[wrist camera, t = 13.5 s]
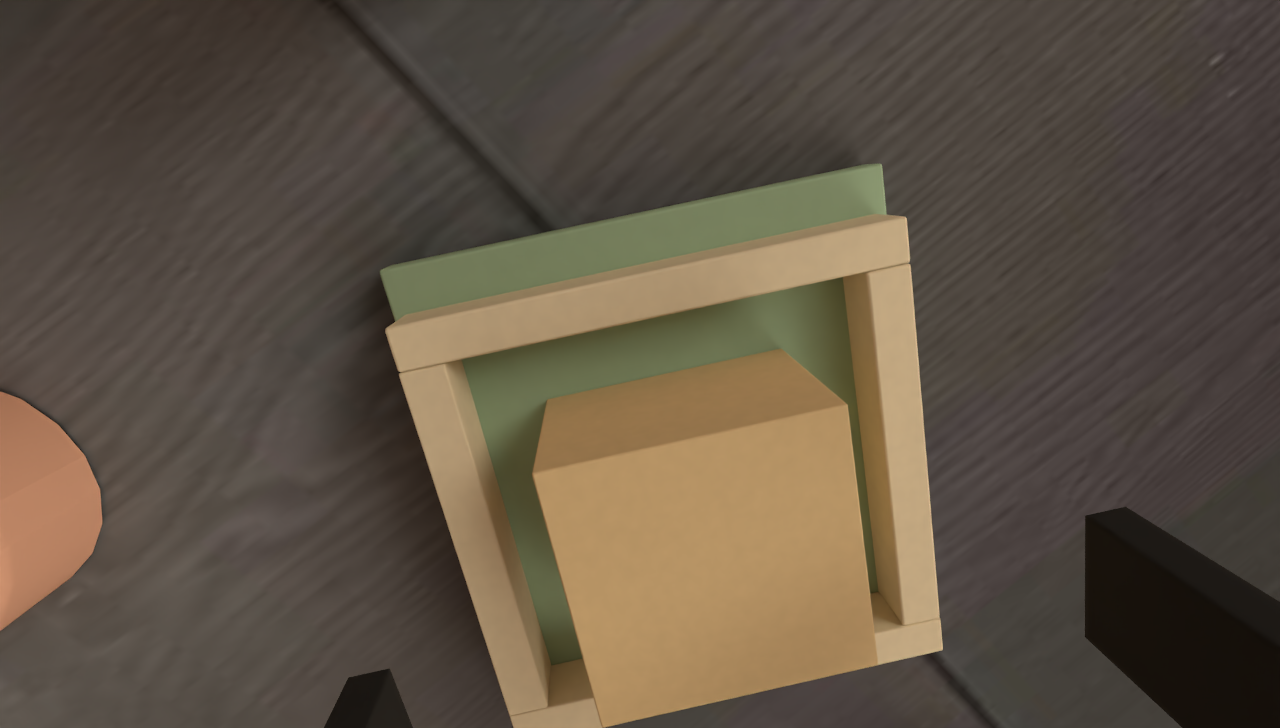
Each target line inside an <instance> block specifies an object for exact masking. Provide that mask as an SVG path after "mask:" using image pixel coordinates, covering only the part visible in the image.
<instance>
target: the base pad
mask: <svg viewBox="0 0 1280 728" xmlns="http://www.w3.org/2000/svg"><path fill="white" fill-rule="evenodd" d="M909 261H910V253H909V240H908V228H907V219H906V217H903V216H892V215H886V204H885V193H884V182H883V171H882V165H881V164H866V165H860V166H855V167H850V168H846V169H841V170H836V171H831V172H827V173H822V174H817V175H813V176H808V177H803V178H799V179H794V180H789V181H784V182H780V183H775V184H770V185H766V186H761V187H756V188H752V189H747V190H742V191H738V192H733V193H728V194H723V195H719V196H714V197H709V198H705V199H700V200H695V201H691V202H686V203H681V204H677V205H672V206H667V207H662V208H658V209H653V210H648V211H644V212H639V213H634V214H630V215H625V216H620V217H616V218H611V219H606V220H601V221H597V222H592V223H587V224H583V225H578V226H573V227H569V228H564V229H559V230H555V231H550V232H545V233H540V234H536V235H531V236H526V237H522V238H517V239H512V240H508V241H503V242H498V243H494V244H489V245H484V246H479V247H475V248H470V249H465V250H461V251H456V252H451V253H447V254H442V255H437V256H433V257H428V258H423V259H418V260H414V261H409V262H404V263H400V264H395V265H392V266H389V267H387V268H384V269H382V270H380V276H381V279H382V282H383V285H384V288H385V291H386V294H387V298H388V301H389V304H390V307H391V310H392V313H393V316H394V320H395V322H394V323H393V324H391V325H390V326H389V327H387V328H386V329H385V333H386V336H387V339H388V342H389V345H390V348H391V351H392V354H393V357H394V360H395V363H396V366H397V369H398V371H399V372H401V373H400V374H399V377H400V381H401V384H402V387H403V390H404V393H405V396H406V399H407V402H408V405H409V408H410V411H411V414H412V417H413V420H414V424H415V427H416V430H417V433H418V436H419V439H420V442H421V445H422V448H423V451H424V454H425V457H426V460H427V463H428V466H429V470H430V473H431V476H432V479H433V482H434V485H435V488H436V491H437V494H438V497H439V500H440V503H441V506H442V509H443V513H444V516H445V519H446V522H447V525H448V528H449V531H450V534H451V537H452V540H453V543H454V546H455V549H456V552H457V556H458V559H459V562H460V565H461V568H462V571H463V574H464V577H465V580H466V583H467V586H468V589H469V592H470V595H471V599H472V602H473V605H474V608H475V611H476V614H477V617H478V620H479V623H480V626H481V629H482V632H483V635H484V638H485V642H486V645H487V648H488V651H489V654H490V657H491V660H492V663H493V666H494V669H495V672H496V675H497V678H498V681H499V685H500V688H501V691H502V694H503V697H504V700H505V703H506V706H507V709H508V712H509V715H510V718H511V721H512V724H513V727H514V728H603V727H602V726H601V723H600V719H599V716H598V712H597V709H596V705H595V701H594V698H593V694H592V691H591V687H590V683H589V680H588V676H587V672H586V669H585V665H584V662H583V658H582V654H581V651H580V647H579V644H578V640H577V636H576V633H575V629H574V625H573V622H572V618H571V615H570V611H569V607H568V604H567V600H566V597H565V593H564V589H563V586H562V582H561V578H560V575H559V571H558V568H557V564H556V560H555V557H554V553H553V550H552V546H551V542H550V539H549V535H548V531H547V528H546V524H545V521H544V517H543V513H542V510H541V506H540V503H539V499H538V495H537V492H536V488H535V484H534V481H533V477H532V472H533V467H534V462H535V457H536V452H537V447H538V442H539V437H540V432H541V427H542V422H543V417H544V412H545V407H546V402H547V400H548V399H551V398H556V397H560V396H565V395H570V394H574V393H579V392H583V391H588V390H593V389H597V388H602V387H606V386H611V385H616V384H620V383H625V382H629V381H634V380H638V379H643V378H648V377H652V376H657V375H661V374H666V373H671V372H675V371H680V370H684V369H689V368H693V367H698V366H703V365H707V364H712V363H716V362H721V361H726V360H730V359H735V358H739V357H744V356H749V355H753V354H758V353H762V352H767V351H771V350H776V349H783V350H784V351H785V352H786V353H787V354H788V355H790V356H791V357H792V358H793V359H794V360H796V361H797V362H798V363H799V364H800V365H801V366H803V367H804V368H805V369H806V370H807V371H809V372H810V373H811V374H812V375H813V376H814V377H816V378H817V379H818V380H819V381H820V382H822V383H823V384H824V385H825V386H826V387H827V388H829V389H830V390H831V391H832V392H833V393H834V394H836V395H837V396H838V397H839V398H840V399H842V400H843V401H844V402H845V403H846V404H847V405H848V411H849V420H850V428H851V437H852V445H853V454H854V462H855V470H856V479H857V487H858V496H859V504H860V513H861V521H862V530H863V538H864V547H865V555H866V564H867V572H868V581H869V589H870V597H871V606H872V614H873V623H874V631H875V640H876V648H877V657H878V665H880V664H884V663H888V662H893V661H897V660H902V659H906V658H910V657H915V656H919V655H924V654H928V653H932V652H937V651H941V650H943V645H942V633H941V621H940V618H939V616H940V615H939V603H938V591H937V579H936V567H935V554H934V542H933V530H932V518H931V506H930V494H929V482H928V470H927V458H926V446H925V434H924V422H923V410H922V397H921V385H920V373H919V361H918V349H917V337H916V325H915V313H914V301H913V289H912V277H911V266H910V264H908V262H909Z"/></svg>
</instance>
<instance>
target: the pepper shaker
mask: <svg viewBox="0 0 1280 728" xmlns="http://www.w3.org/2000/svg"><path fill="white" fill-rule="evenodd" d="M101 526H102V509H101V495H100V488H99V486H98V484H97V482H96V479H95V477H94V475H93V473H92V470H91V468H90V466H89V464H88V461H87V459H86V457H85V455H84V454H83V453H82V452H81V450H80V449H79V448H78V447H77V446H76V445H75V444H74V442H73V441H72V440H71V439H70V438H69V437H68V435H67V434H66V433H65V432H64V431H63V430H62V428H61V427H60V426H59V425H58V424H57V423H55V422H54V421H52V420H51V419H49V418H48V417H47V416H45V415H44V414H42V413H41V412H39V411H38V410H36V409H35V408H33V407H32V406H31V405H29V404H28V403H26V402H25V401H23V400H22V399H19V398H17V397H14V396H11V395H9V394H6V393H3V392H1V391H0V631H1V630H2V629H3V628H5V627H6V626H7V625H9V624H10V623H11V622H13V621H14V620H15V619H16V618H18V617H19V616H20V615H22V614H23V613H24V612H26V611H27V610H28V609H30V608H31V607H32V606H34V605H35V604H36V603H38V602H39V601H40V600H42V599H43V598H44V597H46V596H47V595H48V594H50V593H51V592H52V591H54V590H55V589H56V588H58V587H59V586H60V585H62V584H63V583H64V582H66V581H67V580H68V579H70V578H71V577H72V576H73V575H74V574H75V572H76V571H77V570H78V569H79V568H80V567H81V566H82V565H83V563H84V562H85V561H86V560H87V559H88V558H89V557H90V555H91V554H92V553H93V550H94V547H95V544H96V541H97V538H98V535H99V532H100V529H101Z"/></svg>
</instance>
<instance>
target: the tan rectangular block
mask: <svg viewBox="0 0 1280 728" xmlns="http://www.w3.org/2000/svg"><path fill="white" fill-rule="evenodd" d="M532 477H533V481H534V484H535V488H536V492H537V495H538V499H539V503H540V506H541V510H542V513H543V517H544V521H545V524H546V528H547V531H548V535H549V539H550V542H551V546H552V550H553V553H554V557H555V560H556V564H557V568H558V571H559V575H560V578H561V582H562V586H563V589H564V593H565V597H566V600H567V604H568V607H569V611H570V615H571V618H572V622H573V625H574V629H575V633H576V636H577V640H578V644H579V647H580V651H581V654H582V658H583V662H584V665H585V669H586V672H587V676H588V680H589V683H590V687H591V691H592V694H593V698H594V701H595V705H596V709H597V712H598V716H599V719H600V723H601V726H602V727H608V726H612V725H617V724H621V723H626V722H630V721H634V720H639V719H643V718H648V717H652V716H656V715H661V714H665V713H669V712H674V711H678V710H683V709H687V708H691V707H696V706H700V705H705V704H709V703H713V702H718V701H722V700H727V699H731V698H735V697H740V696H744V695H749V694H753V693H757V692H762V691H766V690H771V689H775V688H779V687H784V686H788V685H793V684H797V683H801V682H806V681H810V680H814V679H819V678H823V677H828V676H832V675H836V674H841V673H845V672H850V671H854V670H858V669H863V668H867V667H872V666H876V665H878V657H877V648H876V640H875V631H874V623H873V614H872V606H871V597H870V589H869V581H868V572H867V564H866V555H865V547H864V538H863V530H862V521H861V513H860V504H859V496H858V487H857V479H856V470H855V462H854V454H853V445H852V437H851V428H850V420H849V411H848V405H847V404H846V403H845V402H844V401H843V400H842V399H840V398H839V397H838V396H837V395H836V394H834V393H833V392H832V391H831V390H830V389H829V388H827V387H826V386H825V385H824V384H823V383H822V382H820V381H819V380H818V379H817V378H816V377H814V376H813V375H812V374H811V373H810V372H809V371H807V370H806V369H805V368H804V367H803V366H801V365H800V364H799V363H798V362H797V361H796V360H794V359H793V358H792V357H791V356H790V355H788V354H787V353H786V352H785V351H784V350H783V349H776V350H771V351H767V352H762V353H758V354H753V355H749V356H744V357H739V358H735V359H730V360H726V361H721V362H716V363H712V364H707V365H703V366H698V367H693V368H689V369H684V370H680V371H675V372H671V373H666V374H661V375H657V376H652V377H648V378H643V379H638V380H634V381H629V382H625V383H620V384H616V385H611V386H606V387H602V388H597V389H593V390H588V391H583V392H579V393H574V394H570V395H565V396H560V397H556V398H551V399H548V400H547V402H546V407H545V412H544V417H543V422H542V427H541V432H540V437H539V442H538V447H537V452H536V457H535V462H534V467H533V472H532Z"/></svg>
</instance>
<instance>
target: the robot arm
mask: <svg viewBox="0 0 1280 728" xmlns="http://www.w3.org/2000/svg"><path fill="white" fill-rule="evenodd" d="M1085 637H1086V638H1087V639H1088V640H1089V641H1090V642H1091V643H1092V644H1093V645H1094V646H1095V647H1096V648H1098V649H1099V650H1100V651H1101V652H1102V653H1103V654H1104V655H1105V656H1106V657H1107V658H1108V659H1109V660H1110V661H1112V662H1113V663H1114V664H1115V665H1116V666H1117V667H1118V668H1119V669H1120V670H1121V671H1122V672H1123V673H1124V674H1125V675H1127V676H1128V677H1129V678H1130V679H1131V680H1132V681H1133V682H1134V683H1135V684H1136V685H1137V686H1138V687H1139V688H1140V689H1142V690H1143V691H1144V692H1145V693H1146V694H1147V695H1148V696H1149V697H1150V698H1151V699H1152V700H1153V701H1154V702H1155V703H1157V704H1158V705H1159V706H1160V707H1161V708H1162V709H1163V710H1164V711H1165V712H1166V713H1167V714H1168V715H1169V716H1171V717H1172V718H1173V719H1174V720H1175V721H1176V722H1177V723H1178V724H1179V725H1180V726H1181V727H1182V728H1280V602H1279V601H1277V600H1276V599H1274V598H1272V597H1271V596H1269V595H1267V594H1266V593H1264V592H1263V591H1261V590H1259V589H1258V588H1256V587H1254V586H1253V585H1251V584H1250V583H1248V582H1246V581H1245V580H1243V579H1242V578H1240V577H1238V576H1237V575H1235V574H1233V573H1232V572H1230V571H1229V570H1227V569H1225V568H1224V567H1222V566H1220V565H1219V564H1217V563H1216V562H1214V561H1212V560H1211V559H1209V558H1207V557H1206V556H1204V555H1203V554H1201V553H1199V552H1198V551H1196V550H1195V549H1193V548H1191V547H1190V546H1188V545H1186V544H1185V543H1183V542H1182V541H1180V540H1178V539H1177V538H1175V537H1173V536H1172V535H1170V534H1169V533H1167V532H1165V531H1164V530H1162V529H1161V528H1159V527H1157V526H1156V525H1154V524H1152V523H1151V522H1149V521H1148V520H1146V519H1144V518H1143V517H1141V516H1139V515H1138V514H1136V513H1135V512H1133V511H1131V510H1130V509H1128V508H1127V507H1123V508H1118V509H1114V510H1109V511H1105V512H1100V513H1096V514H1091V515H1087V516H1085ZM324 728H413V727H412V725H411V722H410V720H409V717H408V714H407V712H406V709H405V707H404V704H403V702H402V699H401V696H400V694H399V691H398V689H397V686H396V684H395V681H394V679H393V676H392V673H391V671H390V669H386V670H381V671H377V672H372V673H368V674H363V675H358V676H354V677H349V678H348V680H347V682H346V684H345V686H344V688H343V690H342V692H341V694H340V696H339V698H338V700H337V702H336V704H335V706H334V708H333V710H332V712H331V715H330V717H329V719H328V721H327V723H326V725H325V727H324Z"/></svg>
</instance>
